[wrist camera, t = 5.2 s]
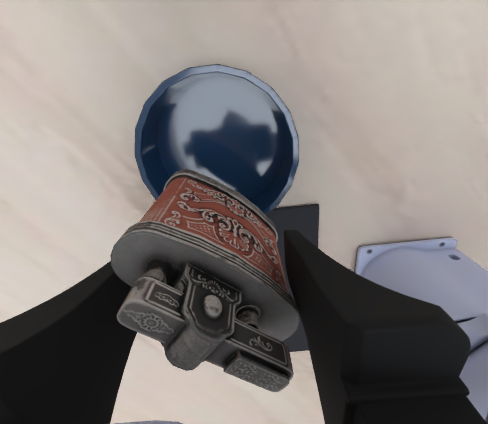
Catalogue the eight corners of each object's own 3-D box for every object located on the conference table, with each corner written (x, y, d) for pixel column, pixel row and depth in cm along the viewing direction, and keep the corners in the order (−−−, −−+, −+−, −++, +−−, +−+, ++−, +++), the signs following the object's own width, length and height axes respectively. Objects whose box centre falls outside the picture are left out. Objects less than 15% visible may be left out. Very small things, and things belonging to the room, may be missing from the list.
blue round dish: (285, 62, 17) (297, 54, 14) (289, 200, 22) (299, 221, 19) (136, 80, 18) (110, 77, 14) (171, 213, 22) (158, 236, 19)
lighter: (157, 198, 16) (46, 339, 7) (183, 156, 15) (91, 257, 6) (257, 257, 18) (273, 424, 9) (286, 224, 17) (341, 377, 8)
